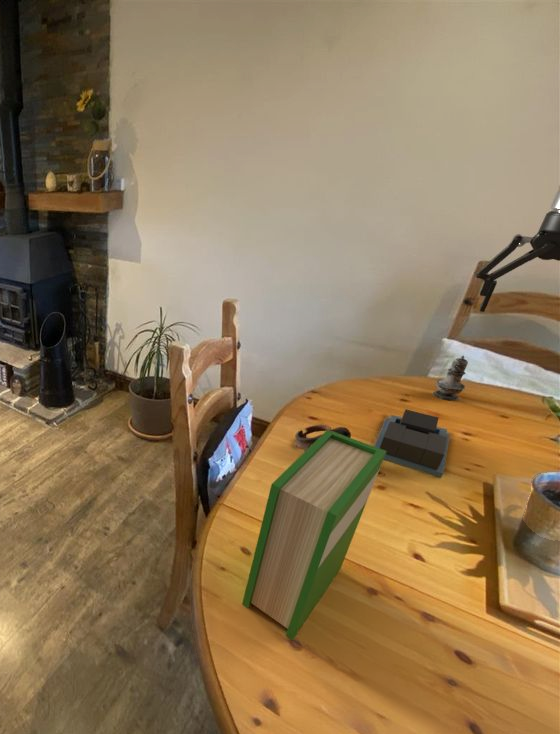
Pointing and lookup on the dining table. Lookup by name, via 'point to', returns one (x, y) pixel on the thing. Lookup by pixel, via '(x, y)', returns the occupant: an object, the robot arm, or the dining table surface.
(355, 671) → the dining table surface
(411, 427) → the black box
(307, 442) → the dark brown curved piece
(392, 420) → the board
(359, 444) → the hardback book
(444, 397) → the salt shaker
